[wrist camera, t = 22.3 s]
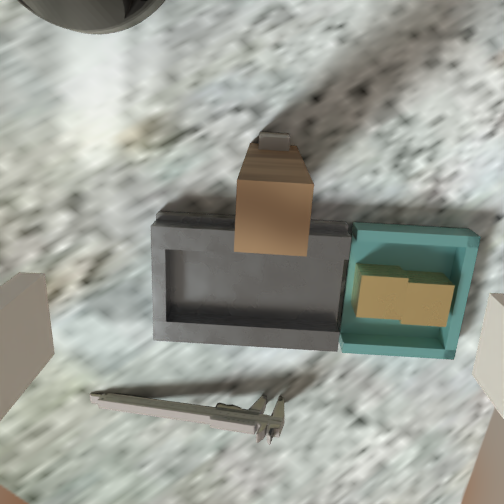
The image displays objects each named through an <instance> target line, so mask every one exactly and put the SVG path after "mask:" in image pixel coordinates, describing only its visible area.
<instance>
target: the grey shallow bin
mask: <svg viewBox="0 0 504 504" xmlns="http://www.w3.org/2000/svg"><path fill="white" fill-rule="evenodd" d="M235 216H236V215H219V214H201V213H183V212H166V211H159V212H158V213H157V214H156V221H155V222H154V223H153V224H152V225H151V256H152V299H153V340H157V341H173V342H190V343H206V344H222V345H238V346H255V347H271V348H287V349H303V350H320V351H336V352H337V350H338V342H339V334H340V331H339V328H338V324H337V316H338V308H339V300H340V291H341V283H342V275H343V266H344V260H349V253H350V245H351V236H350V234H349V232H348V224H347V222H343V221H325V220H310V228H309V238H308V248H307V257H306V256H291V255H275V254H260V253H244V252H234V238H235Z"/></svg>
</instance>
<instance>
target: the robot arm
mask: <svg viewBox="0 0 504 504" xmlns="http://www.w3.org/2000/svg"><path fill="white" fill-rule="evenodd" d="M18 1H19V2H20V3H21V4H22V5H23V6H24V7H26V8H27V9H28V10H30V11H31V12H33V13H34V14H35V15H37V16H39V17H40V18H42V19H44V20H46V21H48V22H50V23H52V24H54V25H57V26H60V27H63V28H66V29H69V30H73V31H77V32H81V33H87V34H109V33H115V32H119V31H122V30H125V29H128V28H130V27H133V26H135V25H136V24H138V23H140V22H142V21H143V20H145V19H146V18H147V17H149V16H150V15H151V14H152V13H153V12H154V11H156V10H157V9H158V7H159V6H160V5H161V4H162V3H163V2H164V0H18ZM53 355H54V346H53V337H52V329H51V321H50V313H49V305H48V297H47V289H46V280H45V274H44V273H21V272H19V273H18V274H17V275H15V276H14V277H12V278H11V279H10V280H8V281H7V282H6V283H4V284H3V285H2V286H0V421H1V420H2V419H3V417H4V416H5V415H6V414H7V412H8V411H9V410H10V409H11V407H12V406H13V405H14V404H15V402H16V401H17V400H18V399H19V397H20V396H21V395H22V394H23V393H24V391H25V390H26V389H27V388H28V386H29V385H30V384H31V383H32V381H33V380H34V379H35V378H36V376H37V375H38V374H39V373H40V371H41V370H42V369H43V368H44V366H45V365H46V364H47V363H48V362H49V360H50V359H51V358H52V357H53ZM472 375H473V376H474V378H475V379H476V381H477V382H478V384H479V385H480V386H481V388H482V389H483V391H484V392H485V394H486V395H487V396H488V398H489V399H490V401H491V402H492V404H493V405H494V406H495V408H496V409H497V411H498V412H499V414H500V415H501V416H502V418H503V419H504V294H498V293H489V298H488V302H487V307H486V312H485V316H484V321H483V325H482V330H481V335H480V339H479V344H478V348H477V353H476V358H475V362H474V367H473V371H472Z"/></svg>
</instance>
